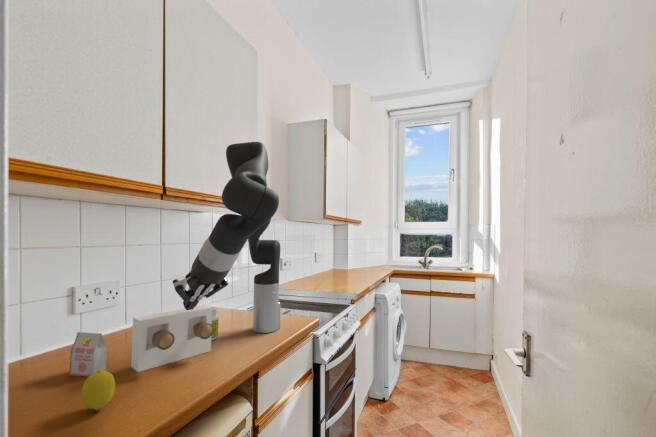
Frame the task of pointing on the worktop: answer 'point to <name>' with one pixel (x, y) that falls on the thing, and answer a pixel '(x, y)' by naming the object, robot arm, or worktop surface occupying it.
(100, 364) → the white milk carton
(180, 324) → the panel
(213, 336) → the supplement bottle
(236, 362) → the worktop surface
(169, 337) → the knob
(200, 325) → the knob
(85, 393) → the lemon
